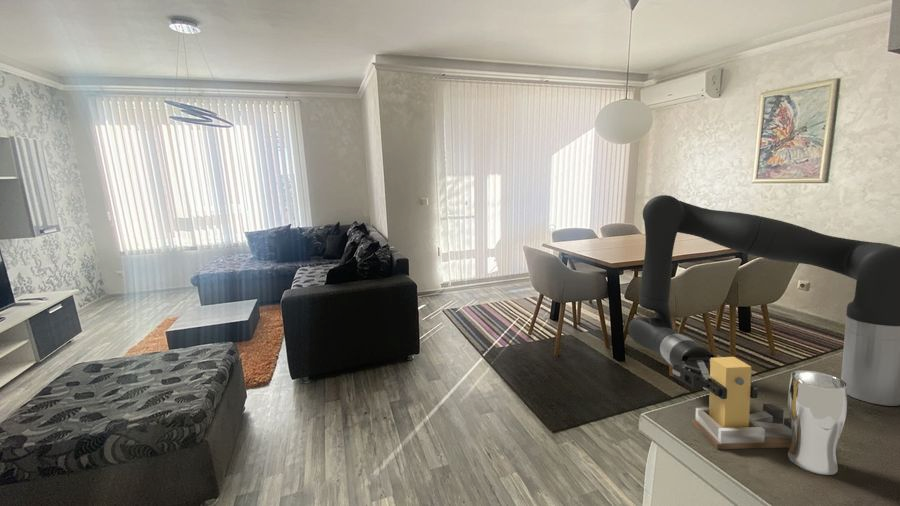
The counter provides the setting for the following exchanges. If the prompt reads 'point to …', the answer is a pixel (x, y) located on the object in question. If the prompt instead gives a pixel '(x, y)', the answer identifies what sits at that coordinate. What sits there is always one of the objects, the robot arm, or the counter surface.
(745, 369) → the yellow knobbed block
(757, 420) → the coupling board
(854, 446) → the counter surface
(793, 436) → the beer glass
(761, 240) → the robot arm
